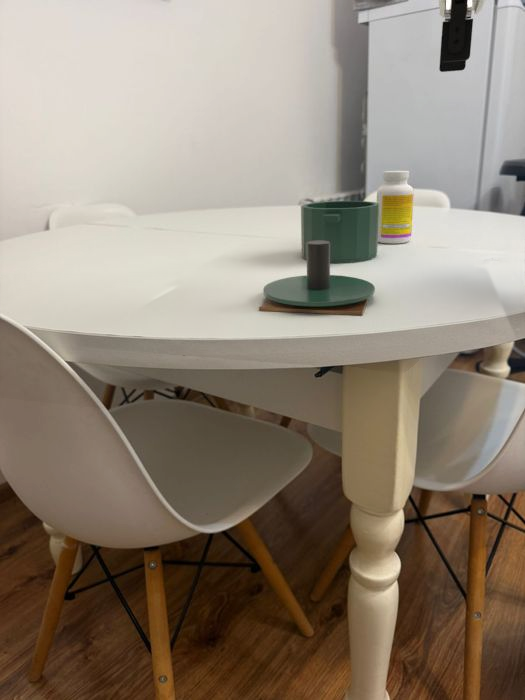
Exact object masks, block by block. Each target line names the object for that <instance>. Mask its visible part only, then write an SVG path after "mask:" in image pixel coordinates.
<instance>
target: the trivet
mask: <svg viewBox="0 0 525 700" xmlns="http://www.w3.org/2000/svg"><path fill="white" fill-rule="evenodd" d="M370 298H371V297H369V298H368V299H365V300H362V301H359V302H355V303H350V304H344V305H337V306H327V307H307V306H297V305H289V304H283V303H279V302H275V301H272V300H270V299H268V298H266V300H265V301H264V302H263V303H261V305H260V306H259V307H258V311H262V312H263V311H264V312H285V313H306V314H326V315H327V314H328V315H346V316H347V315H349V316H363V315H364V312H365V310H366V307H367V305H368V302H369V300H370Z"/></svg>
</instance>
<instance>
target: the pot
mask: <svg viewBox="0 0 525 700" xmlns="http://www.w3.org/2000/svg"><path fill="white" fill-rule="evenodd" d="M378 217H379V203H377V201H376V202H375V201H367V200H327V201H317V202H309V203H304V204H302V205H301V206H300V232H301V233H300V239H301V243H300V244H301V245H300V246H301V257H302V258H303V259H304V260H306V261H307V242H309V241H316V240H323V241H329V242H330V264H349V263H350V262H352V263H359V261H361V262H365V261H370V260H373V259H375V258H376V257H377V255H378V243H379V242H378ZM374 257H375V258H374ZM372 258H373V259H372ZM369 259H370V260H369Z"/></svg>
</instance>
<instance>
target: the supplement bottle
mask: <svg viewBox="0 0 525 700" xmlns="http://www.w3.org/2000/svg"><path fill="white" fill-rule="evenodd" d="M409 178H410V171H409V170H386V171H383V172H382V180H383V184H382V185H381V186H379V187H378V189H377V190H376V203H379V217H378V243H381V244H389V245H390V244H391V245H392V244H393V245H394V244H396V245H397V244H405V243H409V242H411V240H412V227H413V209H414V208H413V207H414V206H413V205H414V188H413V187H412V186H411V185H410V184H408V181H409Z"/></svg>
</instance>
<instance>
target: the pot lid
mask: <svg viewBox="0 0 525 700" xmlns="http://www.w3.org/2000/svg"><path fill="white" fill-rule="evenodd" d="M375 292H376V287H375V285H374V284H373V283H372V282H370V281H368V280H365V279H362V278H359V277H353V276H346V275H336V274H331V263H330V242H329V241H323V240H316V241H309V242H307V260H306V275H298V276H290V277H289V276H288V277H285V278H280V279H277V280H276V279H275V280H273V281H271V282H268V283H267V284H266V285H264V287H263V288H262V294H263V296H264V297H265V298H266V299H270V300H272V301H275V302H279V303H283V304H289V305H297V306H307V307H327V306H337V305H344V304H350V303H355V302H359V301H362V300H365V299H368V298H369V297H370V298H371V297H372V296H374V295H375ZM370 298H369V299H370Z"/></svg>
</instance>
